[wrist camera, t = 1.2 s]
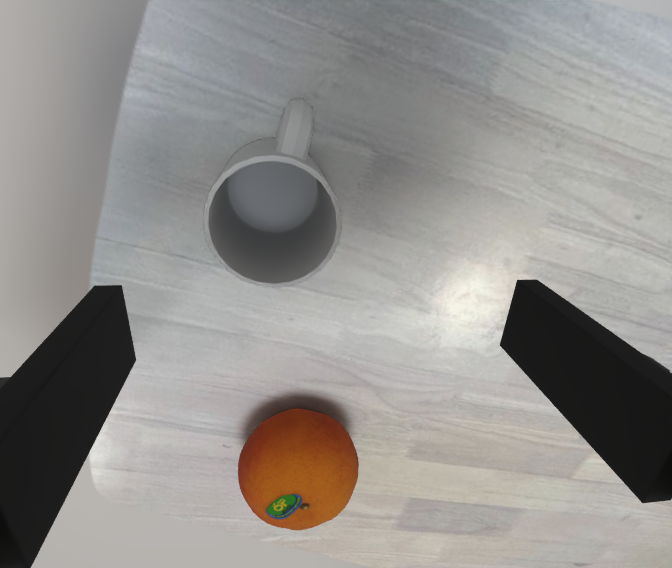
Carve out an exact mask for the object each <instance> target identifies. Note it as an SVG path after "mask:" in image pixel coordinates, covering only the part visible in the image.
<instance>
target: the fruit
mask: <svg viewBox="0 0 672 568" xmlns="http://www.w3.org/2000/svg"><path fill="white" fill-rule="evenodd" d="M358 466H359V464H358V456H357V453H356V450H355V447H354V444H353V442H352V440H351V438H350V436H349V434H348V432H347V431H346V430H345V429H344V428H343V426H342V425H341V424H340V423H339V422H338V421H336V420H335V419H333V418H332V417H330V416H328V415H326V414H323V413H318V412H314V411H310V410H306V409H299V408H297V409H289V410H286V411H284V412H281V413H278V414H276V415H274V416H272V417H270V418H268V419H266V420H265V421H263V422H262V423H261V424H260V425H259V426H258V427H257V428H256V429H255V430H254V431H253V433H252V434H251V436H250V437H249V439H248V440H247V442H246V443H245V445H244V447H243V449H242V451H241V454H240V458H239V463H238V478H239V485H240V489H241V492H242V494H243V496H244V498H245V500H246V502H247V503H248V505H249V506H250V508H251V509H252V511H253V512H254V513H255V514H256V515H257V516H258V517H259V518H260V519H262V520H263V521H265V522H266V523H268V524H271V525H273V526H277V527H281V528H287V529H291V530H303V529H307V528H312V527H315V526H317V525H320V524H322V523H324V522H326V521H329V520H331V519H333V518H334V517H336V516H337V515H338V514H339V513H340V512H341V511H342V510H343V509H344V508H345V506H346V505H347V503H348V502H349V500H350V498H351V495H352V493H353V490H354V488H355V485H356V482H357V478H358Z"/></svg>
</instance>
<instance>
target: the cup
mask: <svg viewBox="0 0 672 568" xmlns="http://www.w3.org/2000/svg"><path fill="white" fill-rule="evenodd" d="M313 128H314V117H313V108H312V106H311V105H310V104H309V103H308V102H307V101H306V100H304V99H291V101H290V102H289V103H288V105H287V106H286V107H285V109H284V111H283V114H282V117H281V120H280V124H279V128H278V131H277V135H276V139H274V138H272V139H260V140H257V141H255V142H252V143H249V144H247V145H245V146H244V147H243V148H241V149H240V150H239V151H237V152H236V153H235V154H234V155H233V156H232V158H231V159H230V160H229V162H228V163H227V164H226V166H225V168H224V169H223V171H222V172H221V174H220V175H219V177H218V179H217V180H216V182H215V183H214V185H213V187H212V188H211V190H210V192H209V195H208V198H207V200H206V203H205V206H204V215H203V228H204V232H205V237H206V241H207V244H208V246H209V248H210V250H211V251H212V253H213V255H214V257H215V259H216V260H217V261H218V262H219V263H220V264H221V265H222V266H223V267H224V268H225V269H226V271H228V272H229V273H231V274H232V275H234V276H235V277H237V278H238V279H240V280H242V281H244V282H247V283H250V284H253V285H256V286H261V287H270V288H278V287H287V286H292V285H295V284H297V283H300V282H303V281H305V280H307V279H309V278H310V277H312V276H313V275H315V274H316V273H318V272H319V271H320V270H321V269H322V268H323V267H324V266H325V265H326V263H327V262H328V261H329V260H330V259H331V257H332V255H333V253H334V251H335V249H336V247H337V245H338V243H339V238H340V233H341V228H342V227H341V210H340V208H339V205H338V202H337V199H336V196H335V194H334V192H333V190H332V189H331V187H330V185H329V184H328V182H327V181H326V179H325V177H324V176H323V174H322V173H321V171H320V169H319V168H318V166H317V165H316V163H315V162H314V160H313V159H312V157H311V156H309V155H308V151H309V147H310V143H311V139H312V134H313Z"/></svg>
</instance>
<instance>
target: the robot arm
mask: <svg viewBox="0 0 672 568" xmlns="http://www.w3.org/2000/svg"><path fill="white" fill-rule="evenodd" d="M500 346H501V347H502V348H503V349H504V350H505V351H506V353H507V354H508V355H509V356H510V357H511V358H512V359H513V360H514V361H515V363H516V364H517V365H518V366H519V367H520V368H521V369H522V370H523V371H524V372H525V374H526V375H527V376H528V377H529V378H530V379H531V380H532V381H533V382H534V384H535V385H536V386H537V387H538V388H539V389H540V390H541V391H542V392H543V394H544V395H545V396H546V397H547V398H548V399H549V400H550V401H551V402H552V403H553V405H554V406H555V407H556V408H557V409H558V410H559V411H560V412H561V413H562V415H563V416H564V417H565V418H566V419H567V420H568V421H569V422H570V423H571V424H572V426H573V427H574V428H575V429H576V430H577V431H578V432H579V433H580V434H581V436H582V437H583V438H584V439H585V440H586V441H587V442H588V443H589V444H590V445H591V447H592V448H593V449H594V450H595V451H596V452H597V453H598V454H599V455H600V457H601V458H602V459H603V460H604V461H605V462H606V463H607V464H608V465H609V466H610V468H611V469H612V470H613V471H614V472H615V473H616V474H617V475H618V476H619V478H620V479H621V480H622V481H623V482H624V483H625V484H626V485H627V486H628V488H629V489H630V490H631V491H632V492H633V493H634V494H635V495H636V496H637V497H638V499H639V500H640V501H641V502H642V503H649V502H658V501H667V500H671V499H672V373H670V372H669V371H670V370H668V369H667V368H665V367H664V366H662V365H661V364H660V363H658V362H657V361H655V360H654V359H652V358H650V357H648V356H646V355H644V354H642V353H640V352H639V351H638V350H636V349H635V348H633V347H632V346H630V345H629V344H628V343H626V342H625V341H623V340H622V339H621V338H619V337H618V336H616V335H615V334H613V333H612V332H611V331H609V330H608V329H606V328H605V327H603V326H602V325H601V324H599V323H598V322H596V321H595V320H594V319H592V318H591V317H589V316H588V315H586V314H585V313H584V312H582V311H581V310H579V309H578V308H576V307H575V306H574V305H572V304H571V303H569V302H568V301H567V300H565V299H564V298H562V297H561V296H559V295H558V294H557V293H555V292H554V291H552V290H551V289H550V288H548V287H547V286H545V285H544V284H542V283H541V282H540V281H538V280H517V283H516V287H515V290H514V294H513V298H512V302H511V305H510V309H509V313H508V317H507V320H506V324H505V328H504V331H503V335H502V339H501V343H500ZM135 361H136V357H135V352H134V346H133V341H132V336H131V331H130V326H129V320H128V315H127V310H126V305H125V300H124V294H123V289H122V285H112V286H94V287H93V288H92V289H91V290H90V291H89V292H88V294H87V295H86V296H85V297H84V298H83V299H82V300H81V301H80V303H78V304H77V306H76V307H75V308H74V309H73V310H72V311H71V312H70V313H69V314H68V315H67V316H66V318H65V319H64V320H63V321H62V322H61V323H60V324H59V325H58V326H57V327H56V329H55V330H54V331H53V332H52V333H51V334H50V335H49V336H48V337H47V338H46V339H45V340H44V342H43V343H42V344H41V345H40V346H39V347H38V348H37V349H36V350H35V351H34V352H33V354H32V355H31V356H30V357H29V358H28V359H27V360H26V361H25V362H24V363H23V364H22V366H21V367H20V368H19V369H18V370H17V371H16V372H15V373H14V374H13V375H12V376H11V377H5V378H0V568H31V566H32V564H33V562H34V560H35V558H36V556H37V554H38V552H39V550H40V548H41V546H42V544H43V542H44V540H45V538H46V536H47V534H48V532H49V530H50V528H51V527H52V525H53V523H54V521H55V519H56V517H57V515H58V513H59V511H60V509H61V507H62V505H63V503H64V501H65V499H66V497H67V495H68V493H69V491H70V489H71V487H72V485H73V483H74V481H75V479H76V477H77V475H78V473H79V471H80V469H81V467H82V465H83V464H84V462H85V460H86V458H87V456H88V454H89V452H90V450H91V448H92V446H93V444H94V442H95V440H96V438H97V436H98V434H99V432H100V430H101V428H102V426H103V424H104V422H105V420H106V418H107V416H108V414H109V412H110V410H111V408H112V406H113V404H114V402H115V400H116V398H117V397H118V395H119V393H120V391H121V389H122V387H123V385H124V383H125V381H126V379H127V377H128V375H129V373H130V371H131V369H132V367H133V365H134V363H135Z"/></svg>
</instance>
